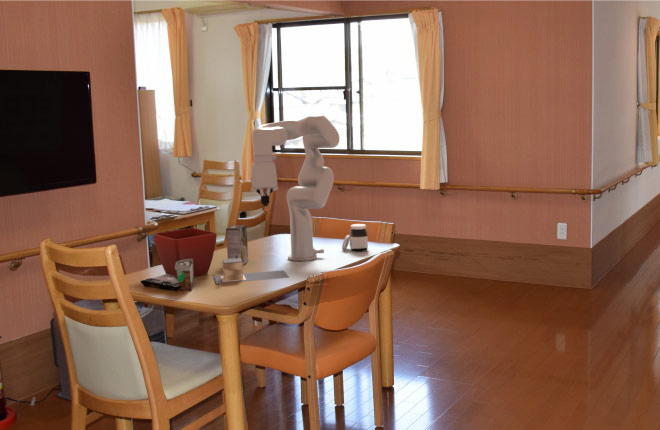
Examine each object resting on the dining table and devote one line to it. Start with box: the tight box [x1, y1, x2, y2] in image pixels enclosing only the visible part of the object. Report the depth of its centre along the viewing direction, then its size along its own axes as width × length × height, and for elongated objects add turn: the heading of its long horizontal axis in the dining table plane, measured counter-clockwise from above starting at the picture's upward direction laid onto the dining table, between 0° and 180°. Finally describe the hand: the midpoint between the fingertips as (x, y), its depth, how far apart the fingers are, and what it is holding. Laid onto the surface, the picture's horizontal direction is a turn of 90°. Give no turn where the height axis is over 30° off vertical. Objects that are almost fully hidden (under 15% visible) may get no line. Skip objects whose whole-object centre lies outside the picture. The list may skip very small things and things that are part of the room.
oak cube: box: [221, 258, 244, 281], centre depth 286 cm, size 7×7×7 cm
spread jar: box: [341, 223, 369, 253], centre depth 335 cm, size 12×11×12 cm
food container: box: [175, 259, 195, 292], centre depth 275 cm, size 12×6×10 cm, turn 5°
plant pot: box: [152, 227, 217, 279], centre depth 298 cm, size 19×19×17 cm
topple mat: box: [213, 269, 290, 286], centre depth 288 cm, size 28×13×1 cm, turn 103°
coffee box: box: [225, 224, 249, 266], centre depth 314 cm, size 9×6×16 cm
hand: (265, 205), depth 294 cm, fingers closed
